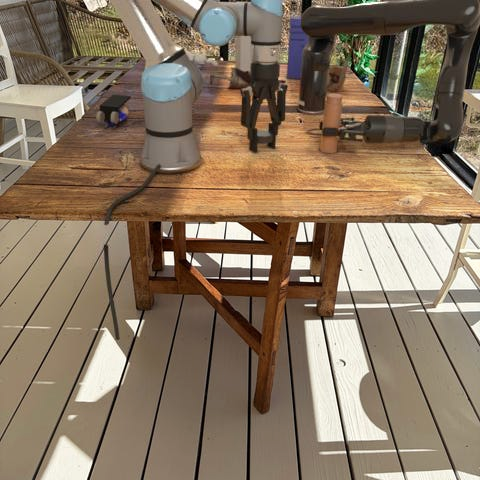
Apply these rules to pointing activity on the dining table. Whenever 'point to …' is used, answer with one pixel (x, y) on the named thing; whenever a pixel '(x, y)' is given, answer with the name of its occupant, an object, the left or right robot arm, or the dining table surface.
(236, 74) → the figurine
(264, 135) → the lid
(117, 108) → the figurine character
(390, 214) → the dining table surface
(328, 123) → the wooden cylinder
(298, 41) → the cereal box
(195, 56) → the toy
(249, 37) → the tall white carton
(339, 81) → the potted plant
